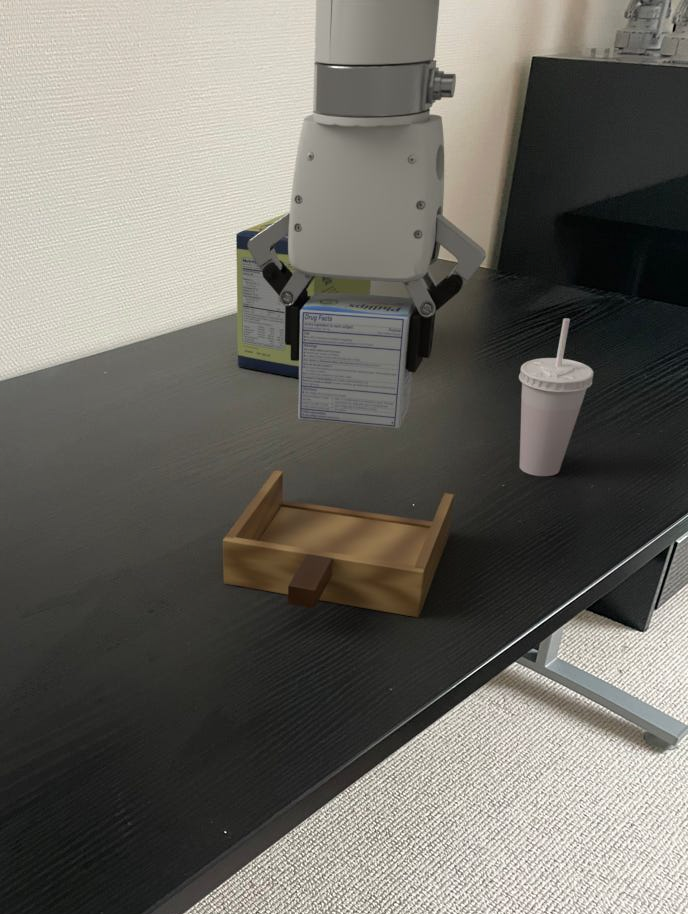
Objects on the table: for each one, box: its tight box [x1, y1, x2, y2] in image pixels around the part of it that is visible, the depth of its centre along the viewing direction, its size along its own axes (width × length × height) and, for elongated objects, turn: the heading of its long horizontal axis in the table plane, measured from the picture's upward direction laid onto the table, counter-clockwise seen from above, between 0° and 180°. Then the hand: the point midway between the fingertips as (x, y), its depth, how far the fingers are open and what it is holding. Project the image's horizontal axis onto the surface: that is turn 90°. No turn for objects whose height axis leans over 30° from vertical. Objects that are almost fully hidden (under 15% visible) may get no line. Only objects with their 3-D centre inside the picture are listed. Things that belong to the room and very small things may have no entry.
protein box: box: [235, 211, 372, 379], centre depth 118 cm, size 10×16×16 cm
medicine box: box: [297, 292, 415, 430], centre depth 73 cm, size 8×4×9 cm, turn 71°
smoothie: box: [518, 317, 594, 477], centre depth 90 cm, size 6×6×14 cm
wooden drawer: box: [222, 470, 455, 618], centre depth 78 cm, size 16×18×4 cm
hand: (356, 359), depth 73 cm, fingers closed on medicine box, 8 cm apart
